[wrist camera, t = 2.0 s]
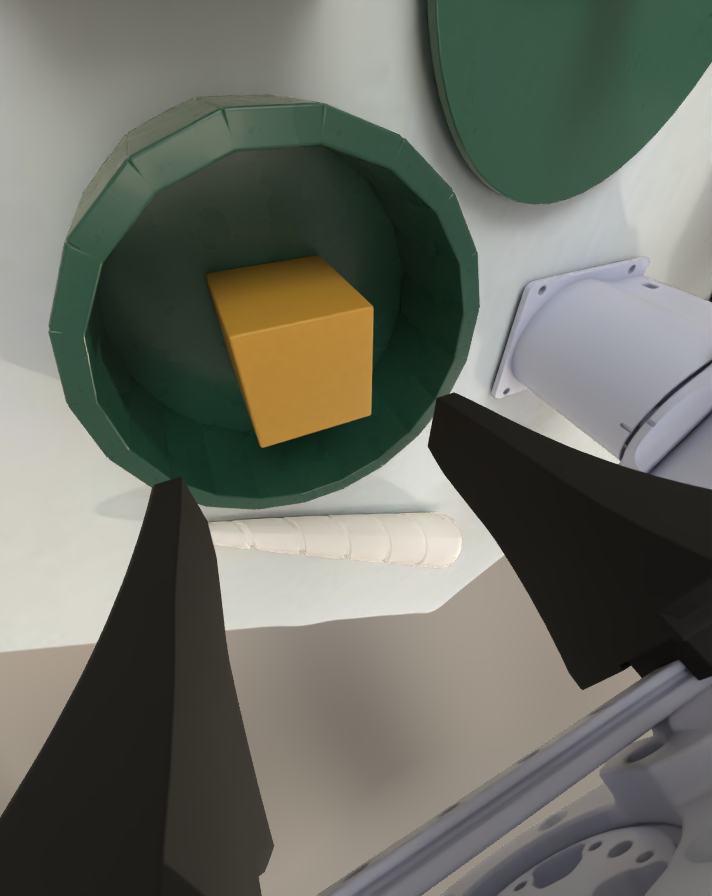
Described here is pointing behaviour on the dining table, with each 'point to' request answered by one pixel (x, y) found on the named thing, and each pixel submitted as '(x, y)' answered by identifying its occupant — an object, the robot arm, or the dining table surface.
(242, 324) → the block
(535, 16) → the tin lid
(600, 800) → the robot arm
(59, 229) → the dining table surface
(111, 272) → the tin
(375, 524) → the unicorn horn
